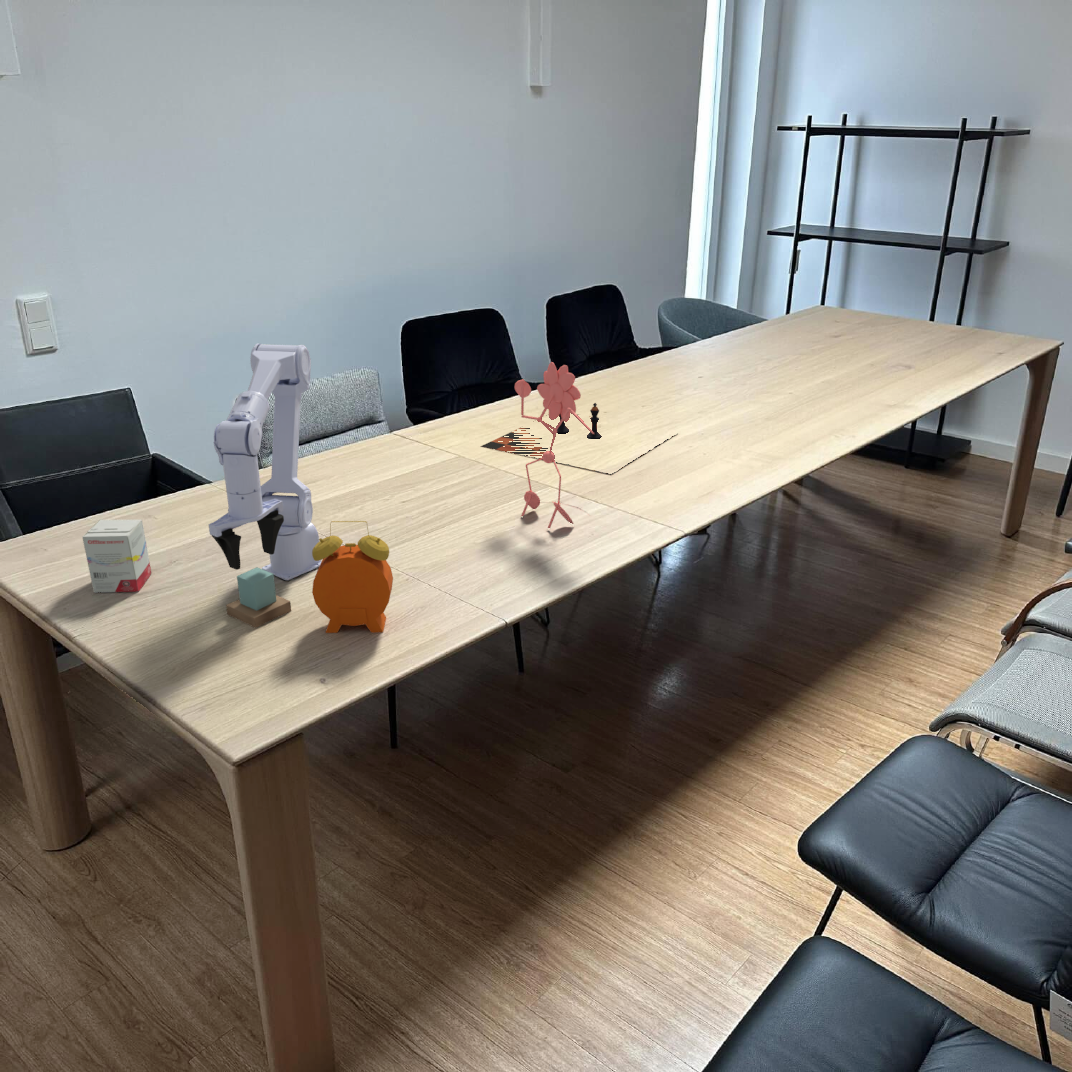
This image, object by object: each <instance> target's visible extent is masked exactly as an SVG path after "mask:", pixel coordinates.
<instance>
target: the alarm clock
mask: <svg viewBox="0 0 1072 1072" xmlns="http://www.w3.org/2000/svg"><path fill="white" fill-rule="evenodd" d="M332 523H366V529H367V530H369V528H368V526H369V525H368V522H367V521H366V520H344V521H343V520H342V521H340V520H337V521H336V520H333V521H330V523H329V530H330V531H329V535H330V536H327V537H324V538H322V537H319V542H318V543H317V544H316V545H315V547H314V548H313V550H312V556H313V558H314V560H315V561H319V560H321V564H320V566H319V567H318V569H317V571H316V573H315V575H314V579H313V581H312V596H313V600H314V603H315V605H316V606H317V608H318V609H319V611H320V613H322V614H323V615H324V616H325V617H326V618H328V619H329V621H328V624H327V628H326V630H325V634H336V633H337V634H338V632H339V630H340V629H341V627H342V625H343V626H350V627H351V626H353V627H355V626H356V627H357V626H364V625H365V626H366V628H367V629H368V630H369V631H370V633H372V634H373V633H384V630H385V626H386V621H387V616H386V614H385V613H384V612H385V610H386V608H387V606H388V605H389V602H390V598H391V594H392V589H393V580H394V577H393V572H392V567H391V566H390V564H389V562H388V561H387V560H388V558H389V557H390V548H389V545H388V544H387V543H386V541H385V540H383V539H382V538H381V537H377V536H375V535H371V534H369V533H370V532H369V531H367V535H364V536H362V537H361V538H360V539H359V540H358V541H357V543H356V542H355V543H354V542H353V543H351V542H350V543H349V542H348V543H344V540H342V538H340V537H339V536H338V535H331V532H332V528H331V524H332ZM343 543H344V545H342V544H343Z"/></svg>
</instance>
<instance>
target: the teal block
mask: <svg viewBox="0 0 1072 1072" xmlns="http://www.w3.org/2000/svg"><path fill="white" fill-rule="evenodd" d="M236 580H237V581H236V582H237V587H238V588H237V589H238V597H239V599H240V603H241V604H243V605H245V606H247V607H250V608H252V609H254V610H256V611H257V610H259V609H261V608H263V607H265V606H267V605H269V604H272V603H274V602H276V595H277V593H276V584H275V575H274V574H272V573H270V572H267V571H265V570H263V569H262V568H260V567H258V566H256V567H255V568H254V567H253V569H250V570H247V571H245V572H243V573H241V574H239V575H237V576H236Z"/></svg>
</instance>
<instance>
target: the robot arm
mask: <svg viewBox="0 0 1072 1072" xmlns="http://www.w3.org/2000/svg"><path fill="white" fill-rule="evenodd" d="M249 358H250V368H251V370H252V377H251V379H250V383H249V385H248V389H247V390H245V391H242V392H240V393H239V394H238V396H237V397H236V400H235V402H234V404H233V405H232V408H231V410H230V412H229V414H228V416H227V418H226V420H222V421H221V422H219V423H217V424H216V425H215V428H214V432H213V447H214V450H215V453H217V455H218V456H217V457H218V463H219V464H220V466H222V467H223V473H224V474H223V475H224V483H225V490H226V491H225V492H226V497H227V498H226V499H227V504H228V508H227V512H226V513H225V514H224V515H222V516H221V517H219V518H218V519H217V520H215V521H213V522H211V523H208V531H209V535H210V536H211V537H212V538H213V539H214V541H216V544H218V546H219V547H220V549H221V550H222V553H223V554H224V556H225V559H226V560H227V563H228V566H229V568H231V569H234V570H236V571H237V570H240V569H241V556H240V555H241V554H240V548H241V547H240V544H241V539H242V535H239V534H236V532H235V531H234V530H235V529H236V528H239V527H243V526H244V525H247V524H250V523H255V522H257V526H258V529H259V533H260V539H261V545H262V550H263V553H266V554H269V561H270V562H269V564H266V565H264V566H262V567H261V569H263V570H265V571H267V572H270V573H272V574H274V577H277V578H280V579H282V580H283V581H290V580H292V579H294V578H297V577H299V576H301V575H303V574H306V573H308V572H311V571H313V570H315V569H317V568H319V566H320V564H321V562H322V560H319V561H315V560H314V558H313V556H312V550H313V548H314V547H315V545H316V544H317V543H318V542H319V541H320V540H319V539H320V537H319V536H320V535H319V532H318V529H317V528H316V526H315V525H314V523H312V520H313V510H314V509H313V508H314V507H313V503H312V492H311V490H310V488H309V487H308V486H307V485H306V484H305V483H303V482H302V481H301V480H300V479H299V478H298V468H299V466H298V465H299V448H300V447H299V441H300V423H301V418H300V417H301V404H302V403H301V401H302V395H303V393H304V392H305V393H306V392H307V391H309V390H310V383H311V369H312V361H311V359H312V358H311V355H310V351H309V350H308V348H307V347H306V345H304V344H299V345H298V344H297V345H296V344H295V345H294V344H267V343H266V344H264V343H259V342H258V343H255V344H254V346H253V347H252V349H251V352H250V357H249ZM272 394H273V396H274V405H273V406H274V409H273V410H274V411H273V430H272V431H273V432H272V433H273V434H272V452H271V456H272V457H271V477H270V479H268V480H267V481H266V482H264V483H262V484H261V476H260V471H259V470H260V469H259V460H258V454H259V451H260V450H261V444H262V437H263V429H262V428H263V426H264V423H265V421H266V419H267V417H268V415H269V412H270V408H271V407H270V403H269V398H270V396H271V395H272ZM277 493H278V494H277ZM280 493H281V494H280ZM283 494H286V495H283ZM287 494H295V495H287Z"/></svg>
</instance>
